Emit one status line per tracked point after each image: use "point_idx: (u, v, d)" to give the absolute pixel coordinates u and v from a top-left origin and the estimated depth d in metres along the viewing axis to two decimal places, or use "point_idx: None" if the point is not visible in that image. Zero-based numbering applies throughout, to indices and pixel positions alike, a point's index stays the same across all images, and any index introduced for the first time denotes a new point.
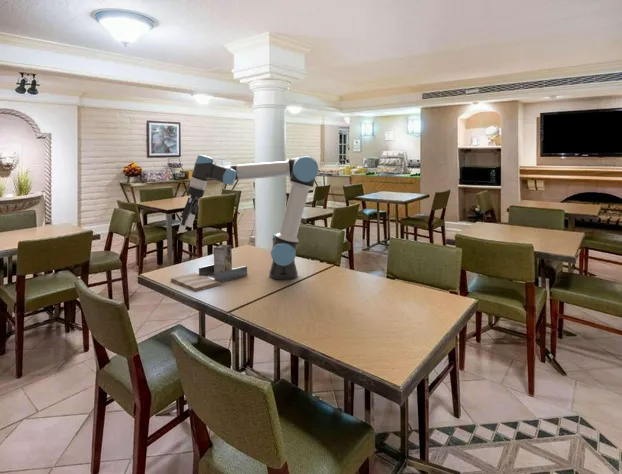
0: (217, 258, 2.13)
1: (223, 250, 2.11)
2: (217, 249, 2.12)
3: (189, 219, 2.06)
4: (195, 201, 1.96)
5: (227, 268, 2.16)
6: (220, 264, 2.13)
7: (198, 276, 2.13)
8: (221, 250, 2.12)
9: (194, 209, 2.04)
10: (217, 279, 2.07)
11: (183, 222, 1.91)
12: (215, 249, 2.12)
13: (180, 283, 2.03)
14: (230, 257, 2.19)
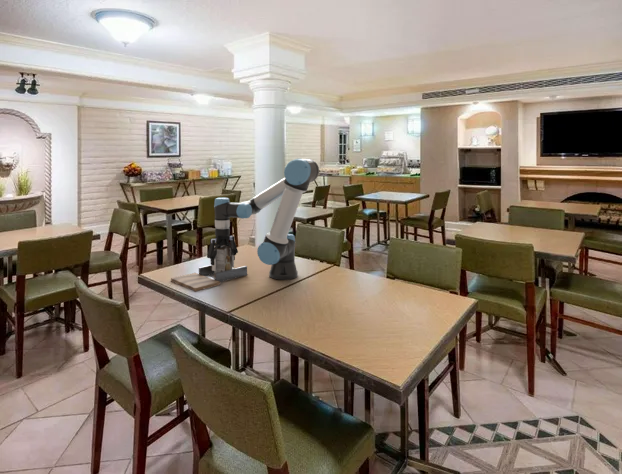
0: (217, 258, 2.13)
1: (223, 250, 2.11)
2: (217, 249, 2.12)
3: None
4: (221, 240, 2.13)
5: (227, 268, 2.16)
6: (220, 264, 2.13)
7: (198, 276, 2.13)
8: (221, 250, 2.12)
9: None
10: (217, 279, 2.07)
11: (211, 262, 2.12)
12: (215, 249, 2.12)
13: (180, 283, 2.03)
14: (230, 257, 2.19)
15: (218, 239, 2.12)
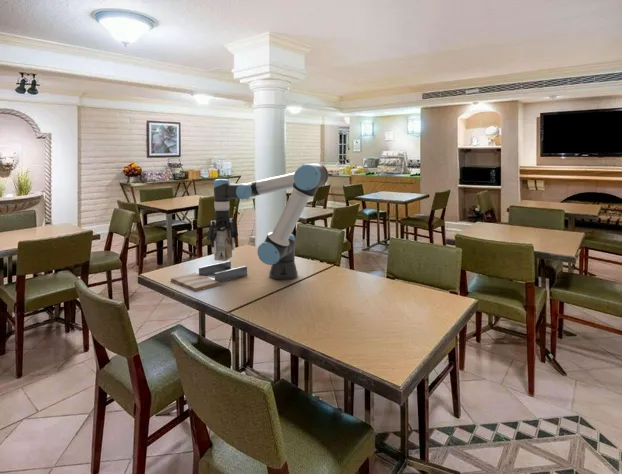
0: (217, 240, 2.11)
1: (223, 232, 2.09)
2: (217, 231, 2.10)
3: None
4: (220, 222, 2.11)
5: (227, 251, 2.14)
6: (220, 246, 2.11)
7: (198, 276, 2.13)
8: (221, 232, 2.10)
9: None
10: (217, 279, 2.07)
11: (211, 244, 2.10)
12: (215, 231, 2.10)
13: (180, 283, 2.03)
14: (230, 239, 2.17)
15: (218, 221, 2.10)
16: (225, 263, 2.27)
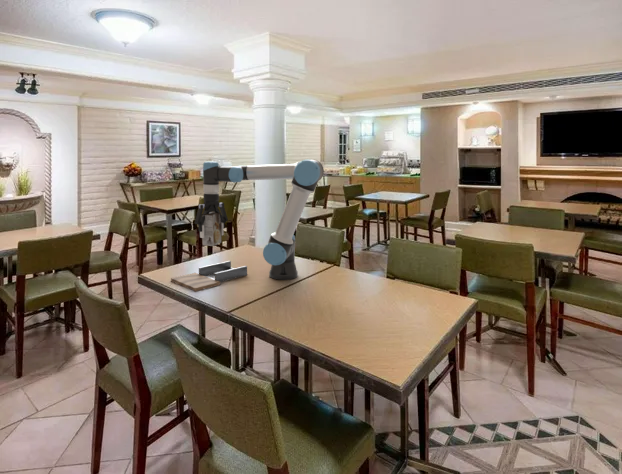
0: (206, 224, 2.05)
1: (211, 216, 2.03)
2: (205, 215, 2.04)
3: None
4: (209, 206, 2.05)
5: (215, 236, 2.08)
6: (208, 231, 2.05)
7: (198, 276, 2.13)
8: (209, 216, 2.03)
9: None
10: (217, 279, 2.07)
11: (199, 228, 2.04)
12: (203, 215, 2.04)
13: (180, 283, 2.03)
14: (219, 224, 2.11)
15: (206, 204, 2.04)
16: (225, 263, 2.27)
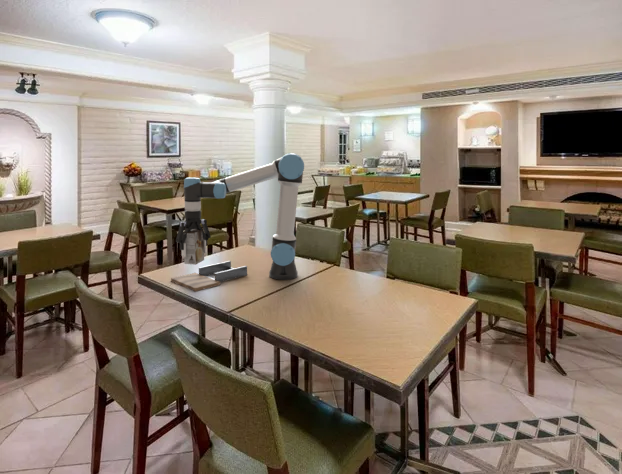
0: (187, 242, 1.98)
1: (193, 234, 1.97)
2: (187, 233, 1.97)
3: None
4: (191, 224, 1.98)
5: (198, 254, 2.01)
6: (190, 249, 1.99)
7: (198, 276, 2.13)
8: (191, 234, 1.97)
9: None
10: (217, 279, 2.07)
11: (180, 247, 1.97)
12: (185, 233, 1.97)
13: (180, 283, 2.03)
14: (202, 242, 2.04)
15: (188, 222, 1.97)
16: (225, 263, 2.27)
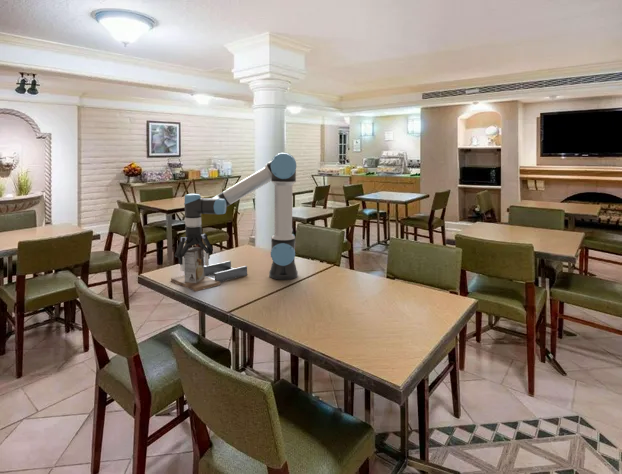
0: (188, 261, 2.00)
1: (193, 253, 1.98)
2: (187, 252, 1.99)
3: (204, 258, 2.09)
4: (192, 239, 2.00)
5: (198, 272, 2.03)
6: (190, 267, 2.00)
7: None
8: (191, 253, 1.99)
9: (203, 247, 2.06)
10: (217, 279, 2.07)
11: (179, 261, 1.98)
12: None
13: (180, 283, 2.03)
14: (202, 260, 2.06)
15: (189, 238, 1.99)
16: (225, 263, 2.27)
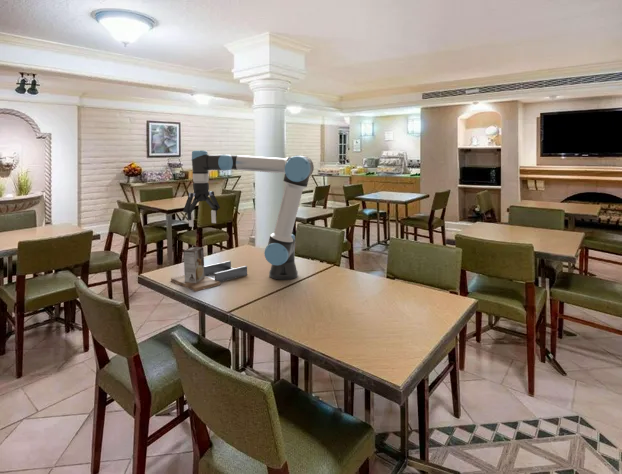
0: (188, 261, 2.00)
1: (193, 253, 1.98)
2: (187, 252, 1.99)
3: (212, 215, 2.12)
4: (199, 195, 2.03)
5: (198, 272, 2.03)
6: (190, 267, 2.00)
7: None
8: (191, 253, 1.99)
9: (210, 204, 2.09)
10: (217, 279, 2.07)
11: (188, 217, 2.01)
12: (185, 252, 1.99)
13: (180, 283, 2.03)
14: (202, 260, 2.06)
15: (197, 194, 2.02)
16: (225, 263, 2.27)
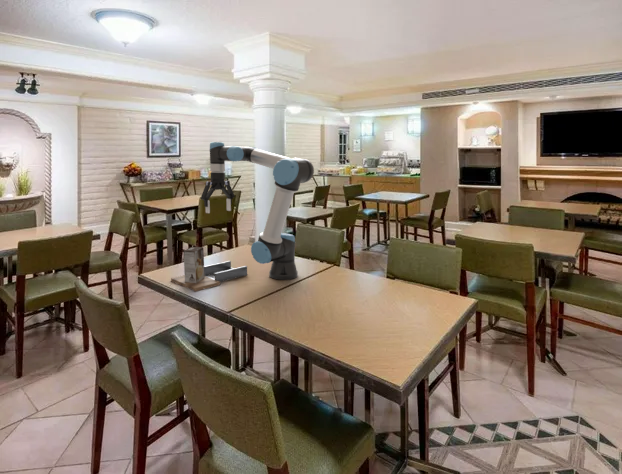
0: (188, 261, 2.00)
1: (193, 253, 1.98)
2: (187, 252, 1.99)
3: (227, 203, 2.27)
4: (216, 184, 2.17)
5: (198, 272, 2.03)
6: (190, 267, 2.00)
7: None
8: (191, 253, 1.99)
9: (226, 193, 2.24)
10: (217, 279, 2.07)
11: (205, 204, 2.15)
12: (185, 252, 1.99)
13: (180, 283, 2.03)
14: (202, 260, 2.06)
15: (213, 182, 2.16)
16: (225, 263, 2.27)
